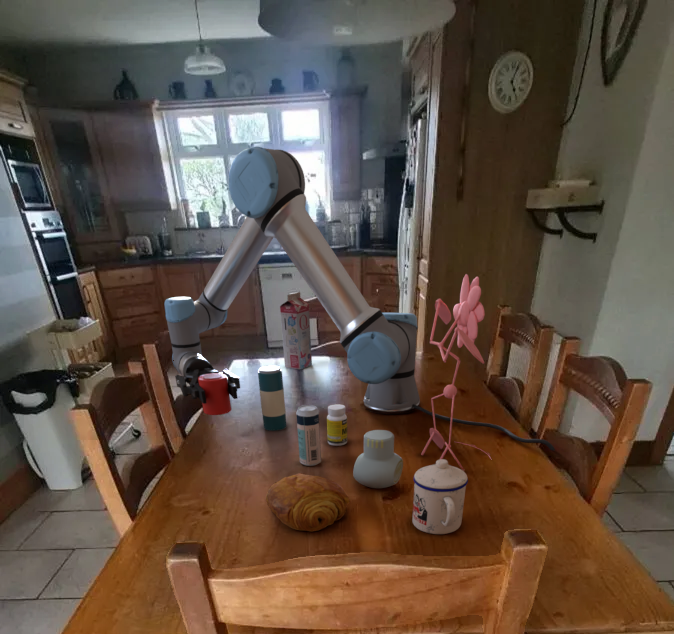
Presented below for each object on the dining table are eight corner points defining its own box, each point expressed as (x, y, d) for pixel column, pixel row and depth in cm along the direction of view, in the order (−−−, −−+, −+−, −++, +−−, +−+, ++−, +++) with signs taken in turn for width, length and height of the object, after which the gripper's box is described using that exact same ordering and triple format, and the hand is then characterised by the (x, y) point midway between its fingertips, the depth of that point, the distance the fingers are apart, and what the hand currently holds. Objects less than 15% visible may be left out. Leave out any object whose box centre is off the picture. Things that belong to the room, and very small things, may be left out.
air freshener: (390, 496, 106) (391, 447, 100) (350, 491, 109) (349, 442, 102) (404, 474, 114) (407, 427, 108) (367, 469, 117) (367, 423, 111)
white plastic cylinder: (324, 459, 122) (322, 405, 114) (316, 468, 118) (313, 412, 111) (304, 457, 123) (300, 403, 116) (296, 465, 119) (292, 410, 112)
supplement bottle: (345, 446, 127) (344, 410, 122) (325, 445, 128) (324, 409, 123) (349, 439, 131) (348, 403, 126) (330, 438, 132) (328, 403, 127)
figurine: (442, 489, 108) (461, 287, 87) (407, 442, 128) (416, 269, 107) (515, 481, 110) (551, 282, 89) (470, 436, 130) (490, 265, 109)
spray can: (291, 424, 140) (286, 366, 132) (277, 432, 136) (271, 372, 128) (272, 421, 143) (267, 364, 134) (259, 428, 139) (252, 369, 130)
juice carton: (311, 365, 188) (308, 292, 175) (300, 369, 183) (295, 295, 170) (296, 362, 191) (291, 291, 178) (284, 367, 186) (279, 294, 173)
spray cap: (237, 408, 132) (232, 374, 128) (218, 416, 128) (213, 381, 123) (216, 404, 135) (211, 371, 130) (197, 412, 131) (191, 378, 126)
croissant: (286, 551, 95) (283, 513, 90) (258, 503, 105) (254, 466, 100) (361, 530, 99) (362, 493, 94) (327, 486, 109) (327, 450, 104)
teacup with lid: (405, 513, 101) (408, 452, 94) (453, 509, 101) (460, 448, 94) (422, 547, 91) (427, 482, 84) (475, 541, 92) (484, 477, 85)
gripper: (235, 381, 147) (262, 405, 130) (162, 391, 141) (180, 418, 124) (231, 351, 142) (258, 372, 126) (155, 360, 136) (173, 384, 119)
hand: (219, 395), depth 125 cm, fingers closed on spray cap, 7 cm apart
